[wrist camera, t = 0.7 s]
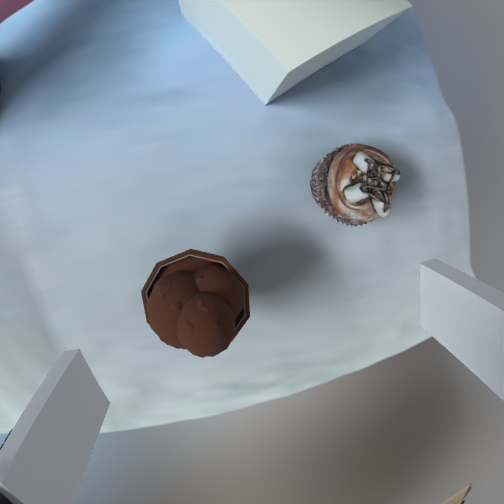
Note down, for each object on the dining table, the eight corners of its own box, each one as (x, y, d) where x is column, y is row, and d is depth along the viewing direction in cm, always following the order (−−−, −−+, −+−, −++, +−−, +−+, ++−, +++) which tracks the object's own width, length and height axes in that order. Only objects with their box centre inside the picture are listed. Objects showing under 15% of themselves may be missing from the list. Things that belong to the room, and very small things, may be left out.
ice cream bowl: (240, 227, 38) (251, 262, 24) (244, 310, 41) (257, 379, 27) (154, 234, 37) (117, 272, 23) (166, 315, 40) (144, 384, 26)
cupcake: (306, 141, 36) (334, 131, 26) (375, 152, 37) (418, 150, 28) (299, 216, 38) (324, 232, 29) (367, 223, 40) (407, 239, 30)
